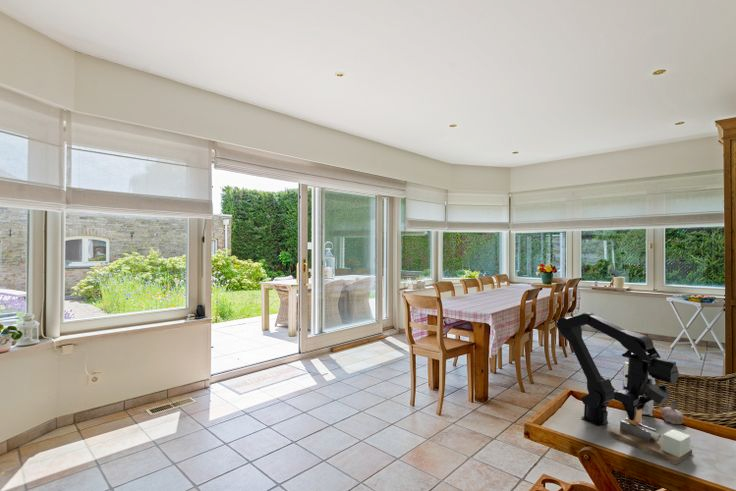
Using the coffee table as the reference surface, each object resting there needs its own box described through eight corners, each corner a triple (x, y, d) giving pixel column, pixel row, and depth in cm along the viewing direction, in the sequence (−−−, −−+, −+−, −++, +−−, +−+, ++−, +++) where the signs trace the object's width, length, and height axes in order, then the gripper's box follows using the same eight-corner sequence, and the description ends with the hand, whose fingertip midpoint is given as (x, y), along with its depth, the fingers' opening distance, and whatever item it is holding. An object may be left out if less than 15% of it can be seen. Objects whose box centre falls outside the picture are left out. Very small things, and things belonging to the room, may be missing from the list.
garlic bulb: (670, 415, 149) (671, 395, 149) (690, 425, 142) (692, 403, 142) (655, 417, 147) (656, 396, 147) (674, 427, 140) (676, 405, 140)
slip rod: (621, 428, 133) (622, 405, 132) (627, 425, 135) (628, 403, 134) (654, 442, 124) (656, 418, 124) (660, 439, 126) (662, 416, 126)
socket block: (661, 450, 121) (663, 434, 121) (671, 444, 125) (673, 429, 125) (679, 457, 117) (680, 441, 117) (689, 451, 121) (690, 435, 121)
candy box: (654, 416, 147) (657, 374, 147) (636, 414, 148) (639, 372, 148) (636, 401, 161) (639, 362, 160) (620, 399, 162) (623, 360, 161)
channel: (619, 429, 133) (620, 420, 133) (625, 427, 135) (626, 418, 135) (649, 442, 125) (650, 432, 125) (655, 439, 127) (656, 429, 127)
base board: (608, 434, 132) (609, 430, 132) (626, 426, 139) (626, 422, 139) (675, 464, 116) (675, 459, 116) (691, 454, 122) (692, 449, 122)
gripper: (652, 386, 119) (648, 436, 119) (678, 376, 128) (675, 423, 129) (613, 374, 128) (610, 420, 129) (641, 366, 138) (638, 409, 138)
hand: (634, 418), depth 131 cm, fingers closed on slip rod, 4 cm apart
